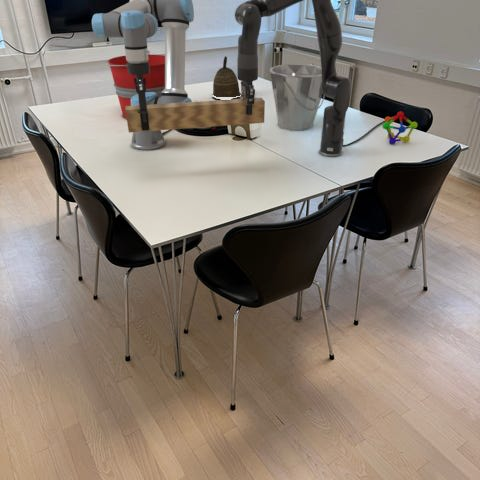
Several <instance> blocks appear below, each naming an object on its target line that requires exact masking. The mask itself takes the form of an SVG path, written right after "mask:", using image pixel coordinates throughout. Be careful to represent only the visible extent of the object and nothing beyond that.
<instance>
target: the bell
mask: <svg viewBox="0 0 480 480" xmlns="http://www.w3.org/2000/svg"><path fill="white" fill-rule="evenodd" d="M227 63H228V57H227V56H224V58H223V63H222V67H221V68H219V69H218V70H217V71H216V73H215V75H214V78H213V81H212V83H213V84H212V95H214V96H216V97H236V96H240V95H241V90H240V83H239V80H238V76H237V74H236V73H235V72H234V70H232V69H231V68H230V67H227Z"/></svg>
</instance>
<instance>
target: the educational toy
mask: <svg viewBox="0 0 480 480" xmlns="http://www.w3.org/2000/svg"><path fill="white" fill-rule="evenodd" d="M397 119H399V124H400V125H399V127H398V126H393V125H391V124H392V123H394V122H395V121H396V120H397ZM403 120H404V121H405V122H407V123H408V124H409V125H407V126H404V123H403ZM384 121H385V122H384V123H382V129H383V130H386V132H387V138H388V142H389V145H395V144H396V143H397V142H402V141H403V142H404V143H409V142H410V140H411V138H410V136H411V134H412V132H413V131H414V130H415V129H417V127H418V122H417V121H411V120H410V119H409V118H408V117H406V116H405V113H404V112H403V111H401V110H400V111H398V112H397V114H396V115H394V116H391V117H390V116H386V117H385V118H384ZM392 129H393V130H397V131H398V132H396V134H395V133H394V132H392ZM408 129H409V131H408V133H407V134H406V135H404V136H401V134H403V133H405V132H406V130H408ZM399 135H400V136H399Z"/></svg>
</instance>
